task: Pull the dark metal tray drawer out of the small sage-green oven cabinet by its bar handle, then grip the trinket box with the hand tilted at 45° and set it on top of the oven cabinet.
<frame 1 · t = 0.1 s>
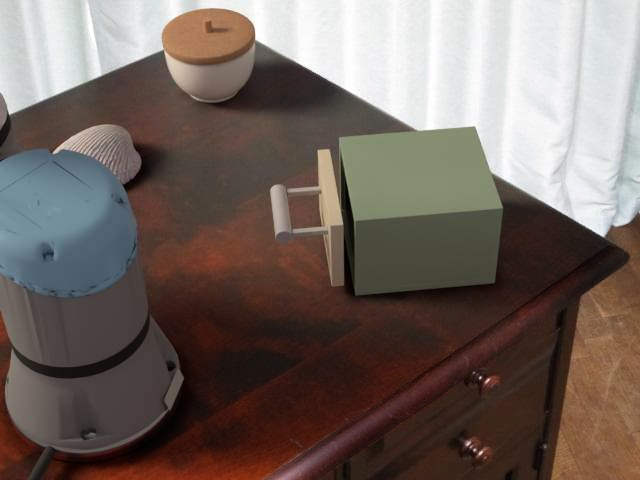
trinket box: (213, 89, 137), on the dresser
cabinet: (414, 245, 115), on the dresser
drawer: (362, 214, 112), point 5 cm above the dresser, slide at 1.0 cm
seashell: (95, 168, 126), on the dresser
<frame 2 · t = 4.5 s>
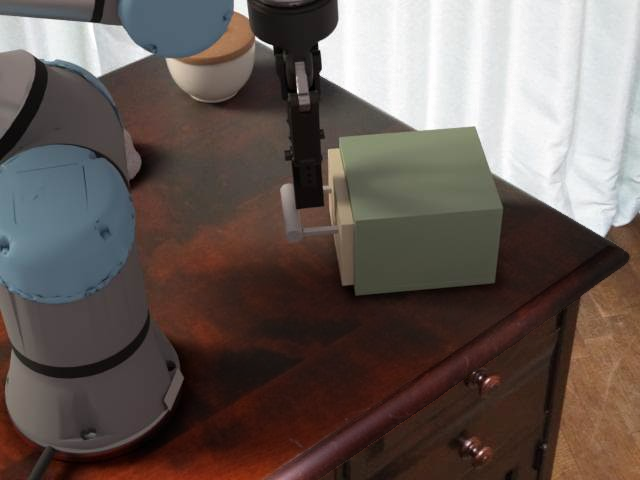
hand: (309, 202, 110), 7 cm above the dresser, tool pointing down, fingers closed
drawer: (373, 213, 112), point 5 cm above the dresser, slide at 0.0 cm, touching cabinet, gripper
everything else where it was.
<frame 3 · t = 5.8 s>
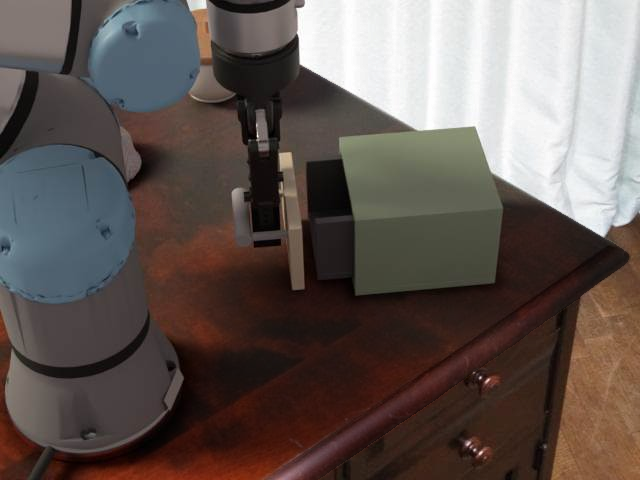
hand: (267, 241, 113), 2 cm above the dresser, tool pointing down, fingers closed
drawer: (324, 217, 112), point 5 cm above the dresser, slide at 4.8 cm, touching gripper
everything else where it was.
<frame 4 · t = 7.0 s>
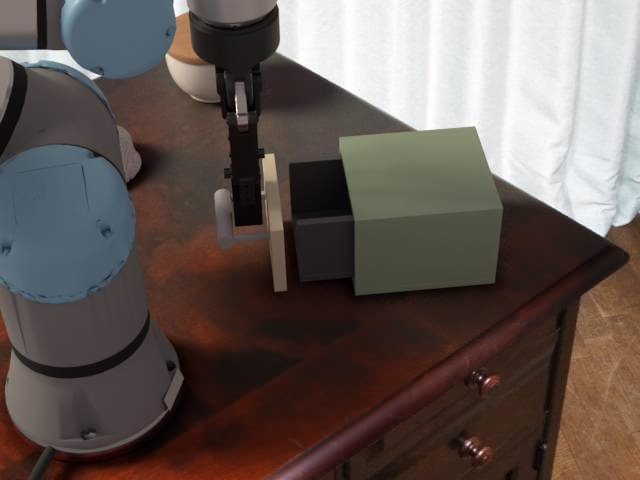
hand: (248, 220, 111), 5 cm above the dresser, tool pointing down, fingers closed
drawer: (306, 218, 111), point 5 cm above the dresser, slide at 6.5 cm
everything else where it was.
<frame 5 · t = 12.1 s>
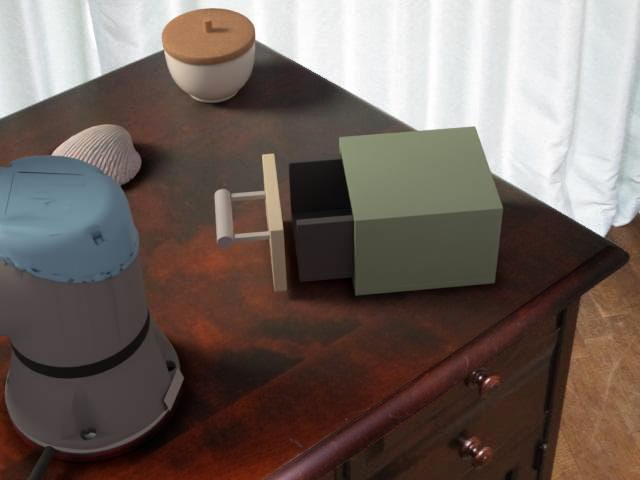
nothing on the dresser moved.
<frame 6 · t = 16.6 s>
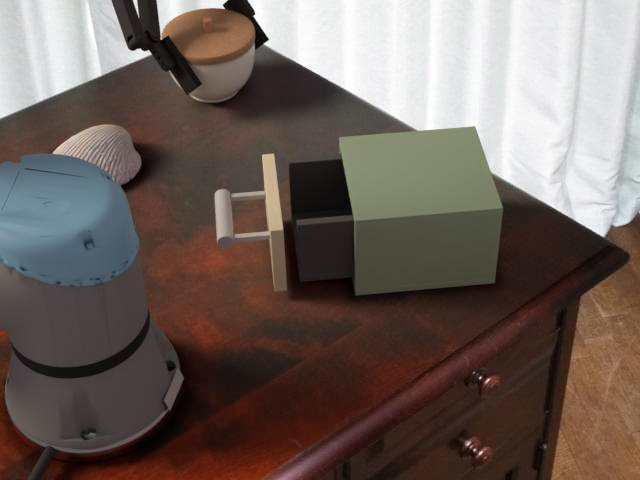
hand: (228, 67, 132), 4 cm above the dresser, tool tilted 45°, fingers closed on trinket box, 11 cm apart
trinket box: (213, 89, 137), on the dresser, touching gripper
everything else where it was.
when the fingers open (14 cm above the dresser, at t = 26.4 s): trinket box stays where it is, resting on cabinet.
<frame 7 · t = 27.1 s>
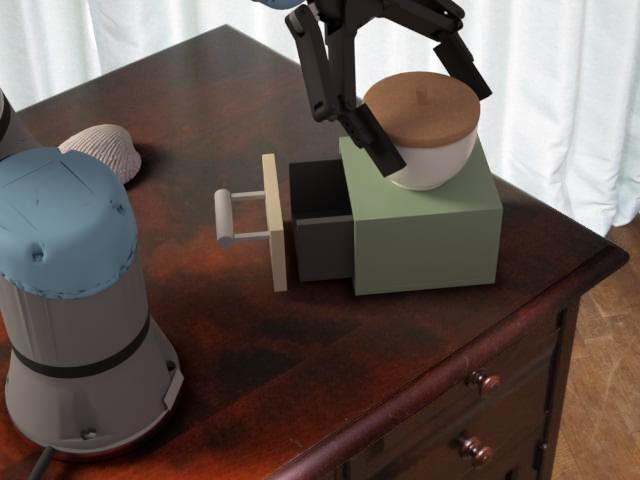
hand: (440, 134, 104), 15 cm above the dresser, tool tilted 45°, fingers open, 13 cm apart
trinket box: (418, 172, 109), point 9 cm above the dresser, touching cabinet
everything else where it was.
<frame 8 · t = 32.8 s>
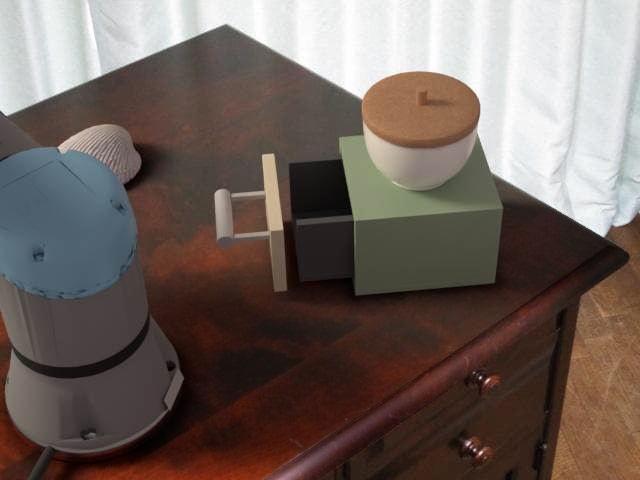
nothing on the dresser moved.
at the end: drawer slide at 6.5 cm; trinket box inside the target area on the cabinet (0.0 cm from its centre), point 9.4 cm above the cabinet's base; trinket box tilted 0° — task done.
